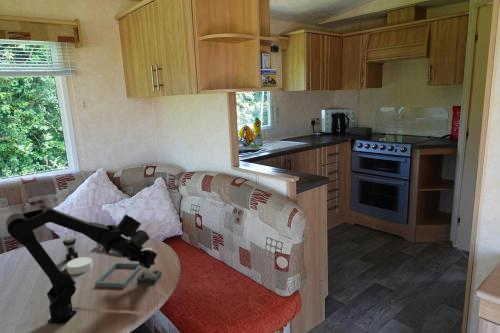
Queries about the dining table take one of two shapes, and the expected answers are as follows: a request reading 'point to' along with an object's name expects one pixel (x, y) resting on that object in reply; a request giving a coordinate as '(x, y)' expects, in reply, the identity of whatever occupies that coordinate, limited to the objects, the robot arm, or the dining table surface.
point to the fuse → (148, 272)
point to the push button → (70, 249)
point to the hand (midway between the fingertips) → (150, 262)
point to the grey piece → (149, 279)
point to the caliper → (110, 250)
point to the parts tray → (118, 284)
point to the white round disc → (79, 265)
